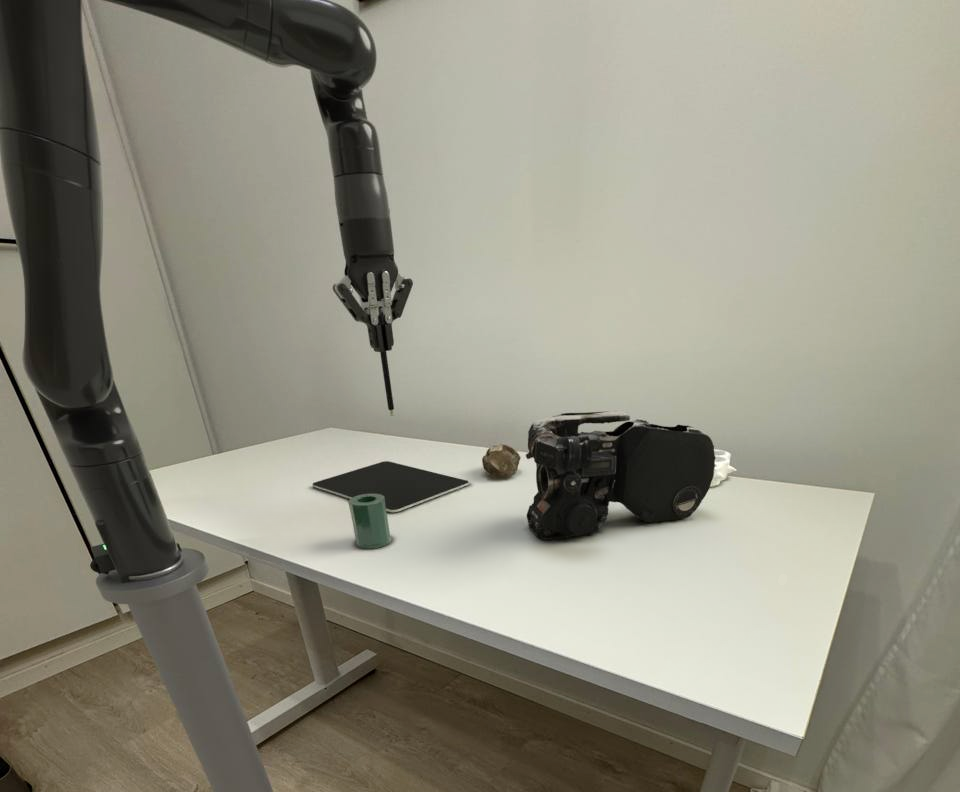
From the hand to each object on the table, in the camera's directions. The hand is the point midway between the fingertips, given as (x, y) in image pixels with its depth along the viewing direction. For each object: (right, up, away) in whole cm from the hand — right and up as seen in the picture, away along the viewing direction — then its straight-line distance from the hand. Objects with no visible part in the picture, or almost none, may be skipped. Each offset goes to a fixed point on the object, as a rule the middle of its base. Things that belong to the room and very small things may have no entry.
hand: (382, 350), depth 90 cm
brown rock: (+20, -13, +26) cm, 35 cm away
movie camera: (+36, -29, -1) cm, 47 cm away
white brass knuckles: (+57, -16, +17) cm, 61 cm away
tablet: (-3, -16, +22) cm, 28 cm away
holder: (-1, -32, -2) cm, 32 cm away
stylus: (+1, -8, +5) cm, 10 cm away
